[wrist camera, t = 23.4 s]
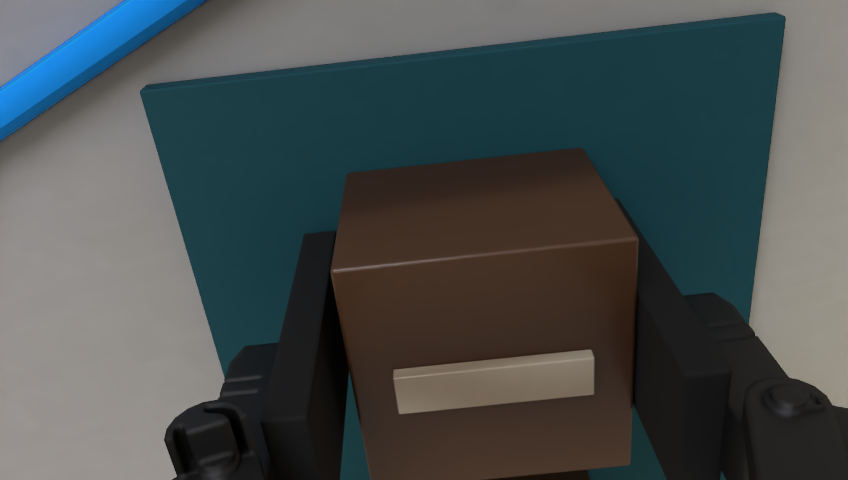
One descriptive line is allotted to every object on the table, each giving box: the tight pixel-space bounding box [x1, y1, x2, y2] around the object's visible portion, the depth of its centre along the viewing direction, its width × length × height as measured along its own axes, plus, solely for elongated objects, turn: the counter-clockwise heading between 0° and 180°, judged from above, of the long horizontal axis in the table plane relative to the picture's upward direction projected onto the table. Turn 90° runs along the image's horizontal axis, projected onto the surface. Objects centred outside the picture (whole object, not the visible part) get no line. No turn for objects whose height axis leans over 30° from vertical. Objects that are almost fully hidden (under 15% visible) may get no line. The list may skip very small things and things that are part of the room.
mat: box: [140, 13, 786, 480], centre depth 21 cm, size 20×14×1 cm
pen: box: [0, 0, 207, 141], centre depth 16 cm, size 1×19×1 cm, turn 121°
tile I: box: [330, 148, 639, 480], centre depth 16 cm, size 6×6×5 cm
